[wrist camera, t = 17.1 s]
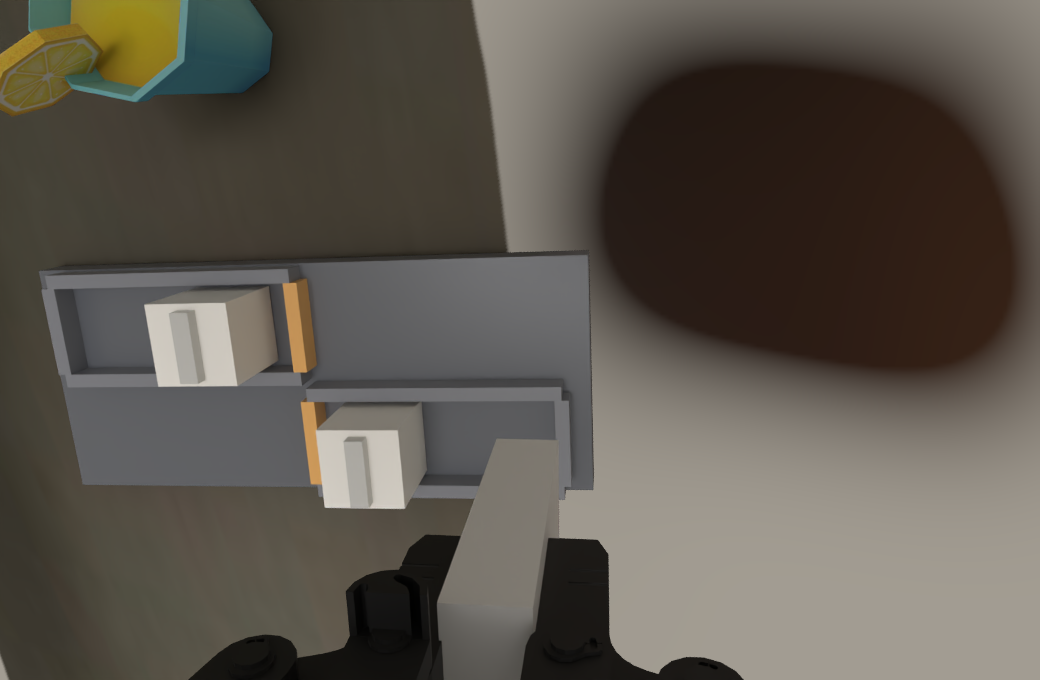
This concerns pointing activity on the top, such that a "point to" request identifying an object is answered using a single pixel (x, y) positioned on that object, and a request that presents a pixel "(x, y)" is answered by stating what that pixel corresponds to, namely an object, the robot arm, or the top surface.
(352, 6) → the top surface
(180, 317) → the tab
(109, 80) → the cup
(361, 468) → the tab
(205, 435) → the switch bank
